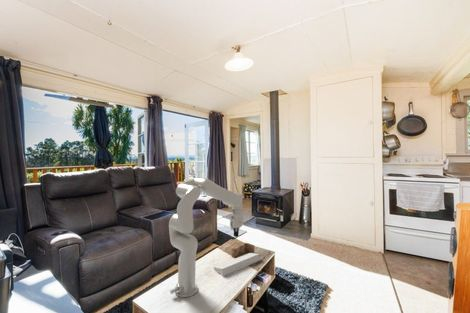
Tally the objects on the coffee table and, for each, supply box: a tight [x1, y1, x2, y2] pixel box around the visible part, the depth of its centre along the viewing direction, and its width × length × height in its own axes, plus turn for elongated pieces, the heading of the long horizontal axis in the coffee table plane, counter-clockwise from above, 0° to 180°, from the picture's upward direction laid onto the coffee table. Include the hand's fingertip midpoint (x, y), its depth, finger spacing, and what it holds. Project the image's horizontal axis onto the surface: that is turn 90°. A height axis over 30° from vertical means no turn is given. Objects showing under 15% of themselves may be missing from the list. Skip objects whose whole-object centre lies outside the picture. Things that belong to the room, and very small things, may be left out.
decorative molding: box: [213, 252, 261, 277], centre depth 150 cm, size 34×5×10 cm
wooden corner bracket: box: [231, 242, 255, 258], centre depth 165 cm, size 17×9×6 cm, turn 139°
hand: (236, 236), depth 153 cm, fingers closed
